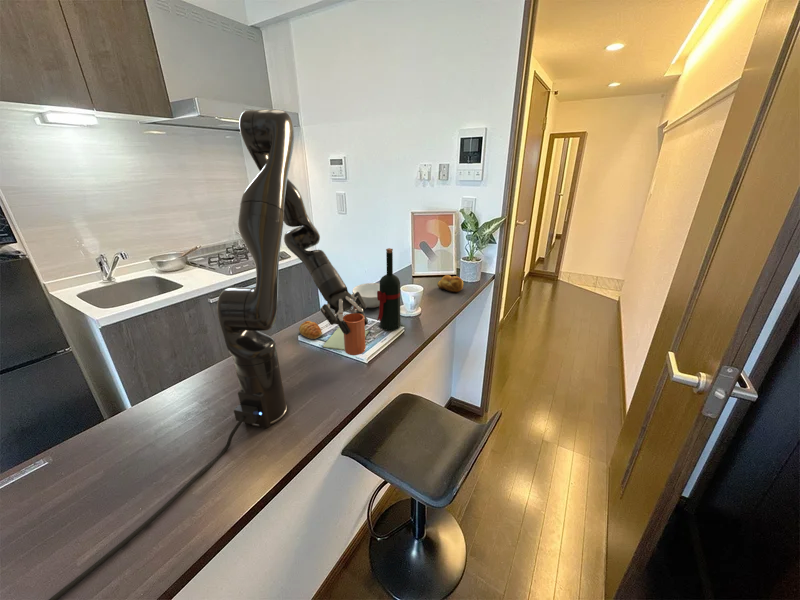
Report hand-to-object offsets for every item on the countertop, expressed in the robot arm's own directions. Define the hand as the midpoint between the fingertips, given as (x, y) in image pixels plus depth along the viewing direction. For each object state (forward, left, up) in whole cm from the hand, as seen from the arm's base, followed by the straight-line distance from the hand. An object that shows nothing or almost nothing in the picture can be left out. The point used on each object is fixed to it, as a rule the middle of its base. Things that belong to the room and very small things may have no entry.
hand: (357, 328), depth 96 cm
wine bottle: (+26, -3, -13) cm, 29 cm away
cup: (+1, +1, -8) cm, 8 cm away
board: (+14, +9, -12) cm, 21 cm away
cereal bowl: (+45, +9, -13) cm, 47 cm away
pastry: (+15, +23, -13) cm, 30 cm away
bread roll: (+71, -23, -13) cm, 75 cm away
